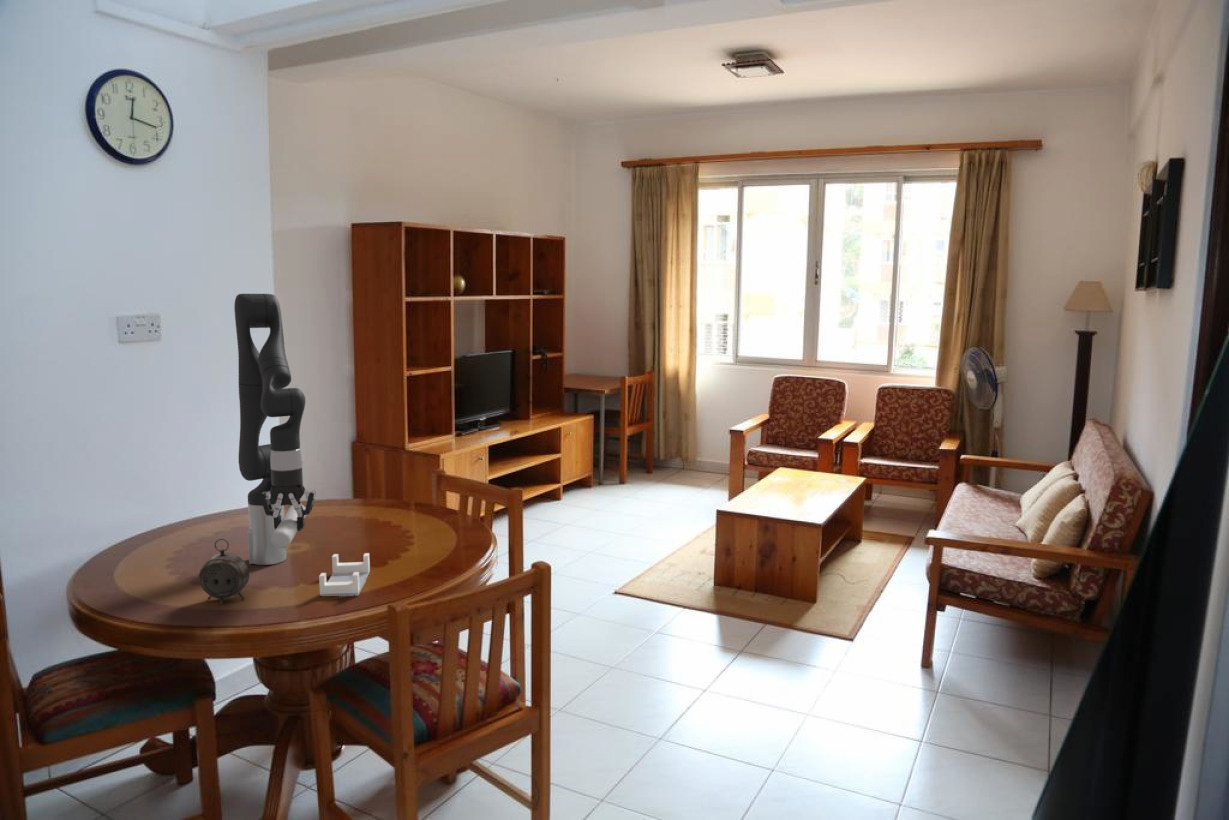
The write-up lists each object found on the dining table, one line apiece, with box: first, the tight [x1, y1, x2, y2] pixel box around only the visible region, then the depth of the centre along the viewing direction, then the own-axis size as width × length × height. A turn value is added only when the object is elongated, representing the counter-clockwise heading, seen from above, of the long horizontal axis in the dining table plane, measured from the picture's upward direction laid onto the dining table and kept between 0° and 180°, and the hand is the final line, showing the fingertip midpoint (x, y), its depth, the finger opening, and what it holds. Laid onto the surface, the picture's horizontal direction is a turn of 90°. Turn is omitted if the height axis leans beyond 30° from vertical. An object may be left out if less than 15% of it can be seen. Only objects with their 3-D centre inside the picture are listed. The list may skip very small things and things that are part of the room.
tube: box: [271, 504, 308, 549], centre depth 225 cm, size 5×5×25 cm
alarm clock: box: [198, 538, 250, 605], centre depth 215 cm, size 11×5×16 cm, turn 92°
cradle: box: [318, 552, 371, 597], centre depth 228 cm, size 9×17×6 cm, turn 6°
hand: (289, 530), depth 225 cm, fingers closed on tube, 4 cm apart
